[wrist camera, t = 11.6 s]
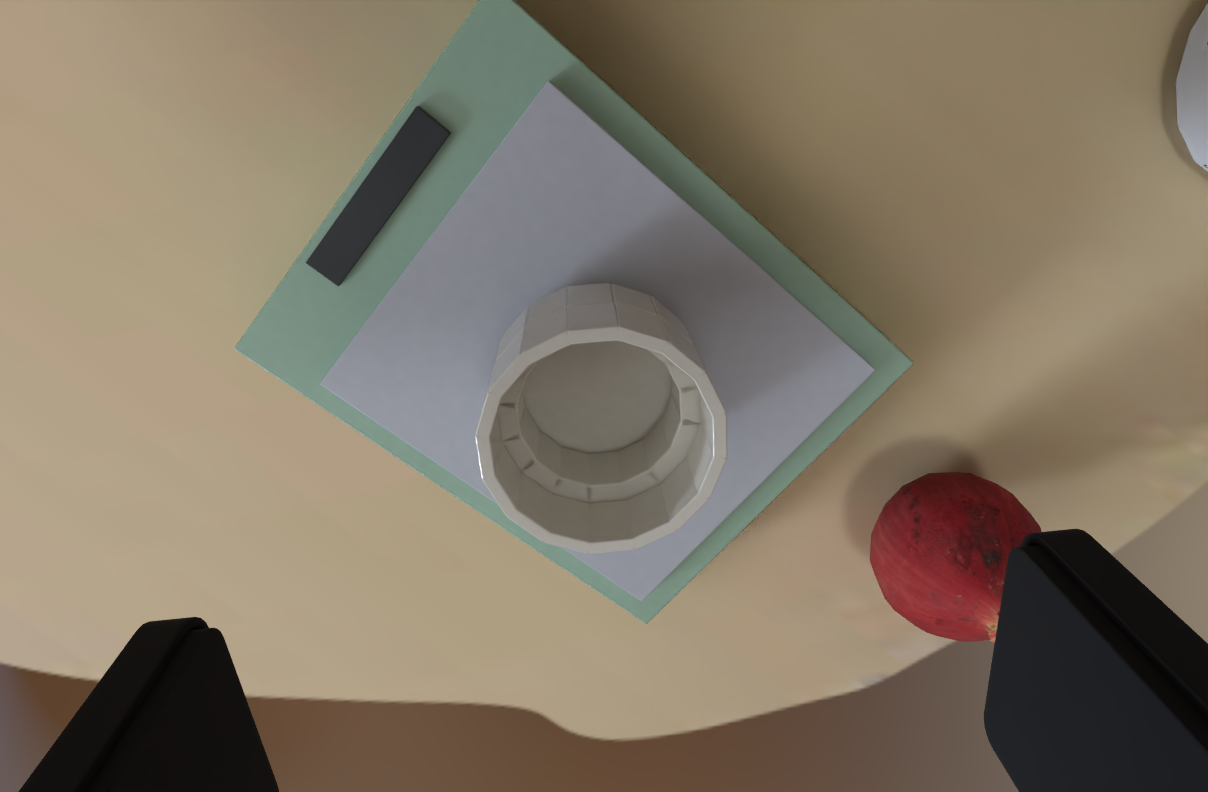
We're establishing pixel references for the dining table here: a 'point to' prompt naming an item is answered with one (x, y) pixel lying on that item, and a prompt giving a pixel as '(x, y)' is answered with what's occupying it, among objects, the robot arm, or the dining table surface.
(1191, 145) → the supplement can
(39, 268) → the dining table surface
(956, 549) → the onion
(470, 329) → the scale
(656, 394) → the bowl
